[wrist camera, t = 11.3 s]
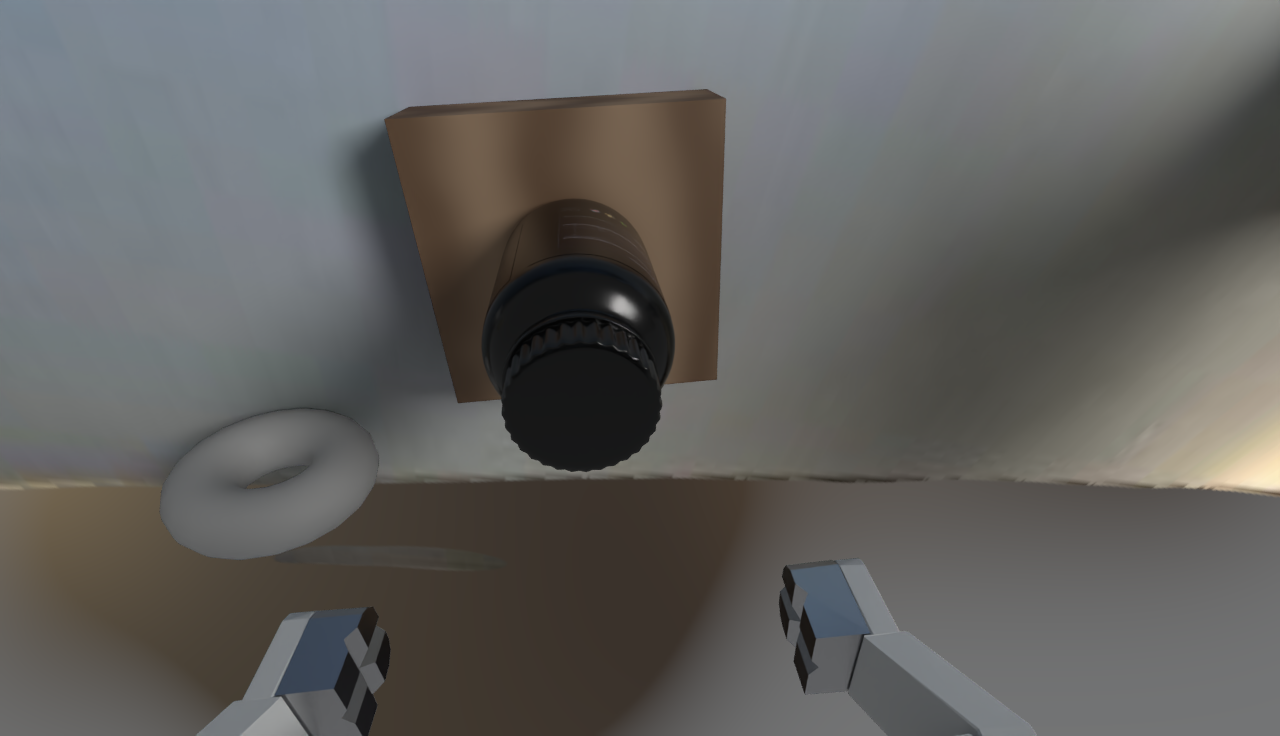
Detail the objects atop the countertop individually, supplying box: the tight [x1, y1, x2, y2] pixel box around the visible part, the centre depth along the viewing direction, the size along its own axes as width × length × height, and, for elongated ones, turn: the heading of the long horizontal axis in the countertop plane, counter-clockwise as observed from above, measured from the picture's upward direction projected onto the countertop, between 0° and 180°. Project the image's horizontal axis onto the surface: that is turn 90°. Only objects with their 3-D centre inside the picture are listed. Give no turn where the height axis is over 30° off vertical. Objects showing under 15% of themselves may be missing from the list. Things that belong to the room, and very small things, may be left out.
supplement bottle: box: [481, 198, 675, 472], centre depth 22 cm, size 7×7×12 cm
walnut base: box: [384, 89, 726, 403], centre depth 29 cm, size 14×14×4 cm
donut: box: [160, 408, 379, 560], centre depth 30 cm, size 10×4×10 cm, turn 86°
